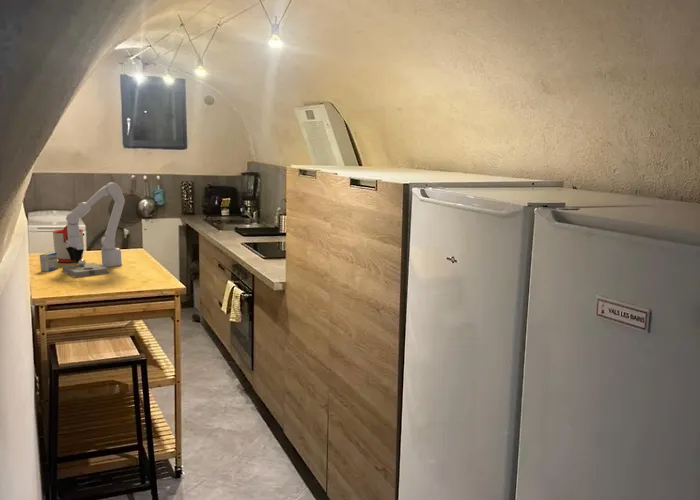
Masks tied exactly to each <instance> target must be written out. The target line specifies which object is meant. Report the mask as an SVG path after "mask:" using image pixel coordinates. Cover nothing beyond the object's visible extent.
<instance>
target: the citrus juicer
mask: <svg viewBox="0 0 700 500" xmlns="http://www.w3.org/2000/svg"><path fill="white" fill-rule="evenodd" d="M67 227H68V226H67V225H65V227H64V228H62V229H55V230H52V235H53V236H52V237H53V247H54V252H56V253H57V262H60V263H63V264H67V263H76V262H75V261H71V259H70V256H69V253H68V251H67V249H66V248H68V247H69V246H66V245H68V232H67ZM83 231H84V230H83V229H82V228H79V232H80V244H81V249H84V250H85V247H84V245H85V244H84V232H83ZM83 255H84V252H83V253H82V256H81V259H83Z"/></svg>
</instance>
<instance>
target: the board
mask: <svg viewBox="0 0 700 500" xmlns="http://www.w3.org/2000/svg"><path fill="white" fill-rule="evenodd" d="M99 264H100V263H96V262H87V263H86V264H85V265H84V266H80V265H79V264H78V263H77V264H71V265H63V266H62V269H61V270H62V272H63V273H66V274H68V275H70V276H72V277H74V278H83V277H89V276H96V275H97V276H99V275H103V274H109V268H108V267H104V266H101V265H99Z"/></svg>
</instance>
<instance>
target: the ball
mask: <svg viewBox="0 0 700 500" xmlns="http://www.w3.org/2000/svg"><path fill="white" fill-rule="evenodd" d="M78 264H79V265H80V266H84V265H85V264H86V260H85V259H83V258H82V259H81V260H79V262H78V263H77V265H78Z"/></svg>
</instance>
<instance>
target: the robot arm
mask: <svg viewBox="0 0 700 500" xmlns="http://www.w3.org/2000/svg"><path fill="white" fill-rule="evenodd" d="M109 195H110V196H111V197H112V200H113V201H114V204H113V208H112V210H111V214H110V218H109V220H108V223H107V228H106V230H105V232H104V235H103V236H102V237H101V239H100V243H101V245H102V247H101V248H100V250H101V251H100V253H101V263H98V264H99V265H101V266H104V267H106V268H108V267H114V266H115V267H116V266H122V265H123V264H122V253H121V248H119V247H116V246H115V245H116V233H117V229H118V226H119V223H120V220H121V216H122V212H123V209H124V206H125V203H126V199H125V196H124V193H123V189H122V188H121V187H120V185H119V184H117V183H116V182H113V181H110V182H107V184H106V185H103V186H102V187H101V188H99V189H98V191H96V192H95V193H94V194H93V195H92V196H91V197H90V198H89V199H88V200H87V201H85V202H84V201H81V202H79V203H77V206H76V207H75V208H74V209H71V211H70V212H69V213H68V214H67V215H66V217H65V220H66V222H67V223H66V226H68V227H67V232H68V245H66V246H69V247H68V248H66V249H67V251H68V253H69V256H70V259H71V261H75V262H74V263H75V264H78V262H79V260H81V256H82V253H83V254H84V251H85V248H84V249H81V244H80V232H79V229H80V226H79V222H80V219H82V218H83V217H85V215H87V214H88V213H89V212H90V211H91V210H92V209H91V207H92V206H94V204H96V203H97V202H98V201H100V200H101V199H102V198H103V197H108V196H109Z"/></svg>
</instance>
